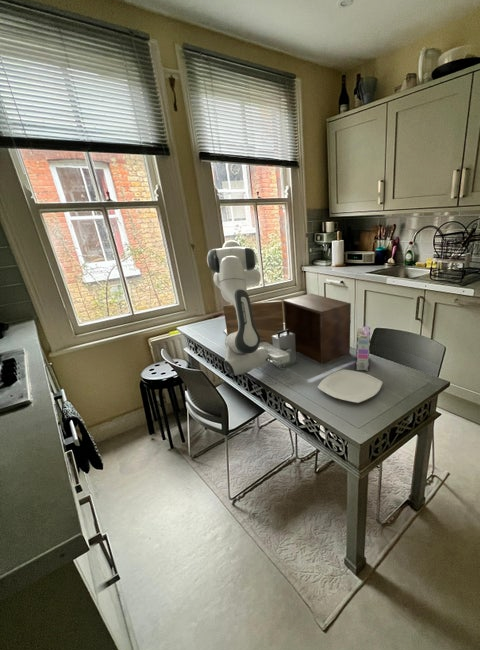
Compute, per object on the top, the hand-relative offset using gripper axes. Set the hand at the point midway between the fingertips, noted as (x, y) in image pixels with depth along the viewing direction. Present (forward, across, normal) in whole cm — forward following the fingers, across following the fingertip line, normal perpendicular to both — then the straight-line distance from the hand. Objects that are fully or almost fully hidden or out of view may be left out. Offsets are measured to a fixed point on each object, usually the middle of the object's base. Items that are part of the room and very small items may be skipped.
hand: (285, 347), depth 147 cm
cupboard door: (-2, +24, +8) cm, 25 cm away
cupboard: (+19, 0, +8) cm, 21 cm away
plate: (+5, -36, +8) cm, 37 cm away
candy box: (+25, -25, +8) cm, 36 cm away
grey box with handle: (-1, 0, +8) cm, 8 cm away
